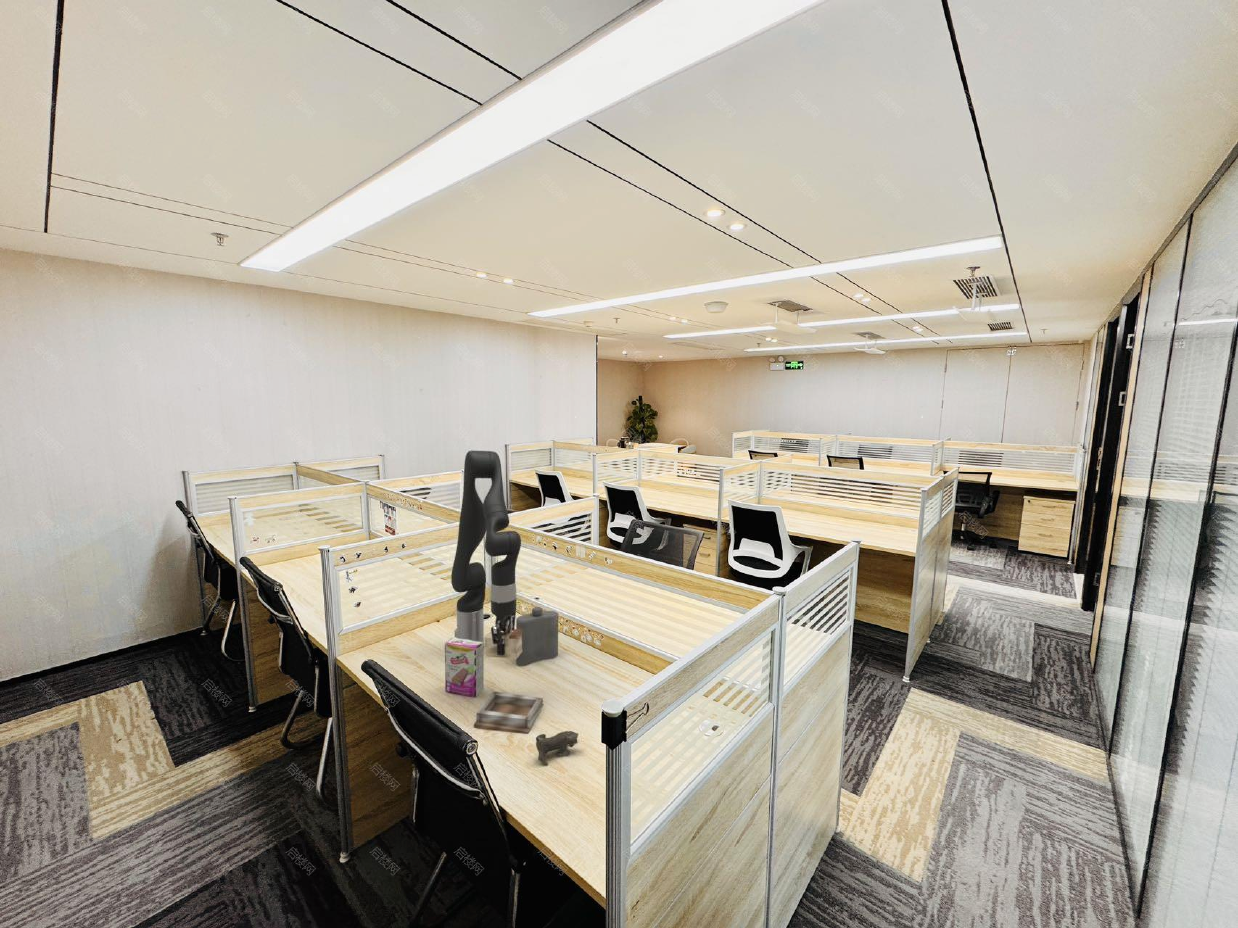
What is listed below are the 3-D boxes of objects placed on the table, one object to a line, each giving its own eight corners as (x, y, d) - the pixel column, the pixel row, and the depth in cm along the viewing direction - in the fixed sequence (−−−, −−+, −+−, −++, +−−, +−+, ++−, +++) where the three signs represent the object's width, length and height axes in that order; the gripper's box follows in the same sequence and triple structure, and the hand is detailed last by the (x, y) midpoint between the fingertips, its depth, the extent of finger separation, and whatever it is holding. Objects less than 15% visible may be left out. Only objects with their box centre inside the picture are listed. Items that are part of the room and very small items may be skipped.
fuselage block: (485, 656, 153) (484, 634, 153) (491, 649, 158) (490, 627, 157) (518, 658, 152) (516, 635, 151) (523, 651, 156) (522, 629, 155)
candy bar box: (444, 692, 159) (443, 642, 157) (453, 684, 164) (453, 636, 162) (476, 698, 156) (475, 648, 154) (484, 690, 161) (484, 641, 159)
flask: (554, 654, 185) (554, 602, 183) (559, 662, 180) (560, 608, 177) (513, 663, 178) (513, 608, 176) (518, 671, 173) (518, 615, 171)
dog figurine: (539, 769, 127) (539, 742, 126) (532, 755, 132) (533, 728, 131) (583, 757, 132) (584, 730, 131) (576, 743, 137) (576, 717, 136)
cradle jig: (474, 727, 143) (473, 715, 142) (494, 699, 156) (494, 688, 156) (528, 735, 140) (528, 723, 139) (544, 705, 154) (544, 695, 153)
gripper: (501, 587, 160) (501, 639, 162) (481, 604, 146) (482, 660, 148) (523, 589, 159) (524, 641, 161) (506, 606, 145) (506, 663, 147)
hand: (504, 650), depth 155 cm, fingers closed on fuselage block, 4 cm apart
